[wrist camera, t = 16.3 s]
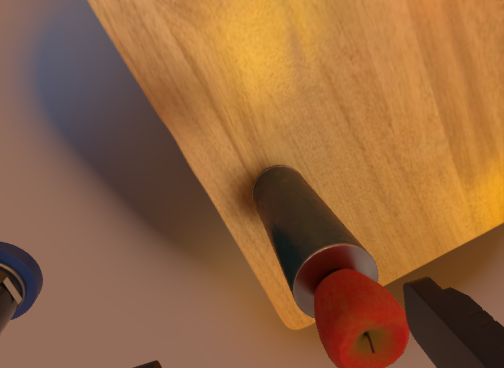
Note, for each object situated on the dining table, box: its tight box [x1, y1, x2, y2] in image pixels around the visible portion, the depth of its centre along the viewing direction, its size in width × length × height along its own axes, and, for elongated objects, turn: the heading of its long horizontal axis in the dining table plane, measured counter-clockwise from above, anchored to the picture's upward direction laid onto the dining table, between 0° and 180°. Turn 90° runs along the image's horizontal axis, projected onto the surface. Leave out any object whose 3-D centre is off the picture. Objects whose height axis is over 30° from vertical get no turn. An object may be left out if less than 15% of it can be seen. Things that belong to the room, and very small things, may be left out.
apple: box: [314, 269, 410, 368], centre depth 28 cm, size 6×6×8 cm
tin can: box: [252, 165, 378, 318], centre depth 41 cm, size 8×8×22 cm
